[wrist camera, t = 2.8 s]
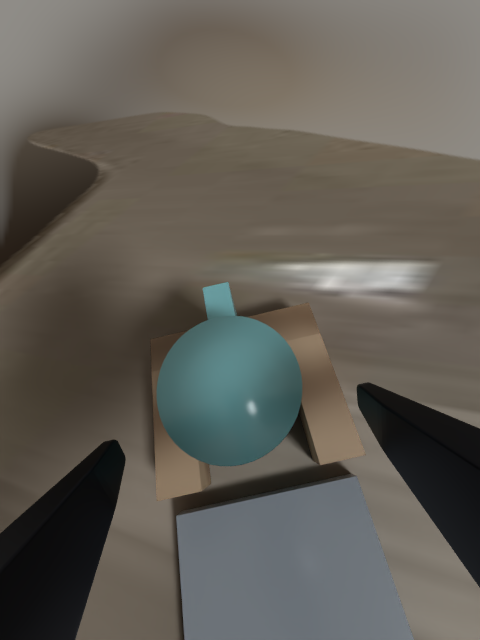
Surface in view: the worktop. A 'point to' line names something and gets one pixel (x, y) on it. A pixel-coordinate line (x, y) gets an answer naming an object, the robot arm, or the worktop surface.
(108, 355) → the worktop surface
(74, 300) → the worktop surface
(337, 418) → the bracket
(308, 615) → the coaster
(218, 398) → the teal gourd with tab
